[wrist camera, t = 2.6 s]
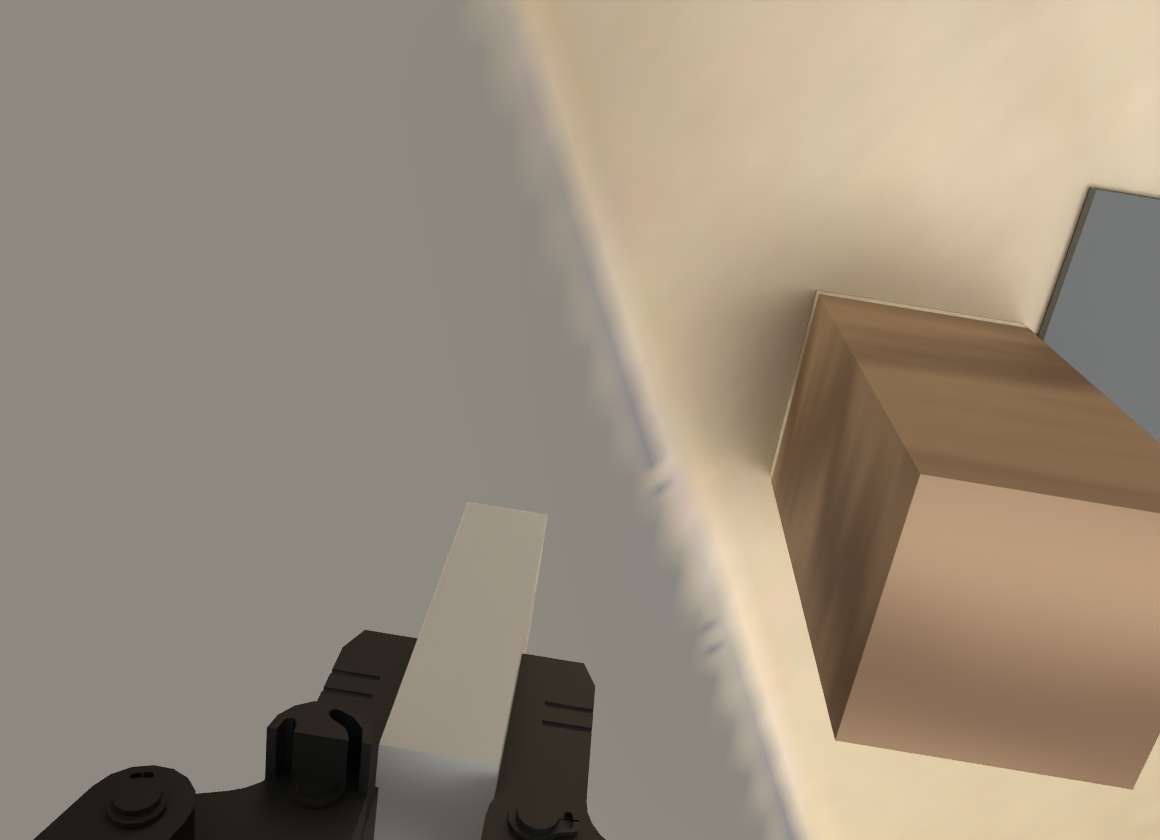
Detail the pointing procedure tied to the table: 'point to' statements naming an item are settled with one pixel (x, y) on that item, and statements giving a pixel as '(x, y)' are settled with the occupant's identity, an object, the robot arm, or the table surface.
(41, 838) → the robot arm
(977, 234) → the table surface
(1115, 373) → the mat
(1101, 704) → the walnut block
